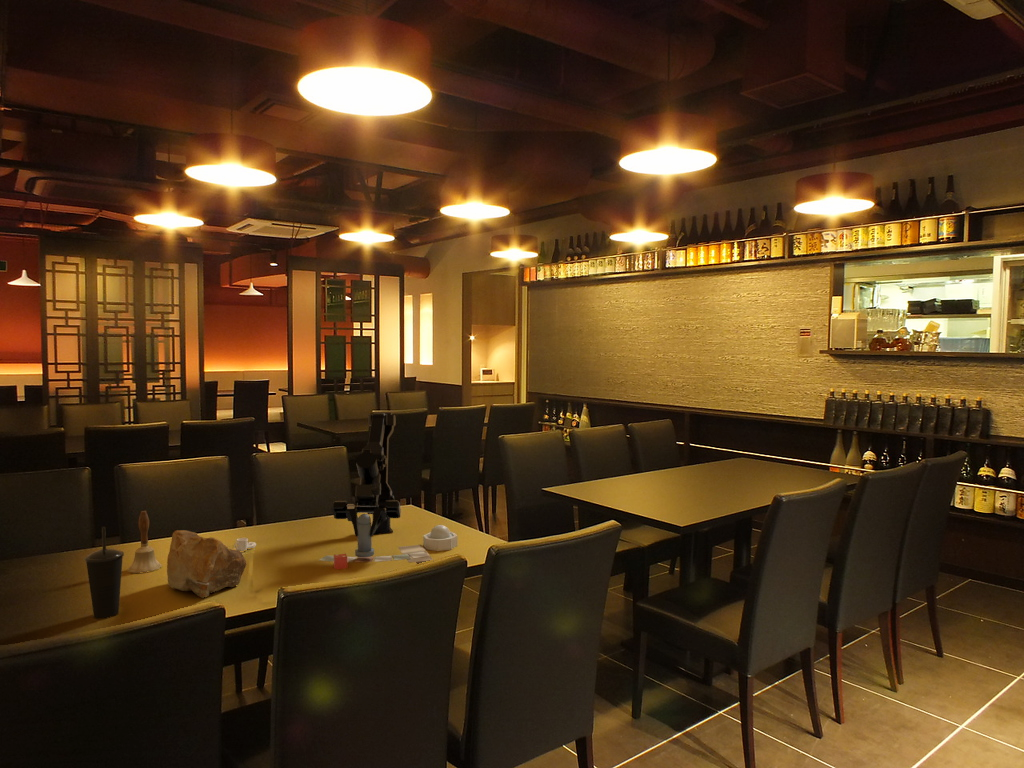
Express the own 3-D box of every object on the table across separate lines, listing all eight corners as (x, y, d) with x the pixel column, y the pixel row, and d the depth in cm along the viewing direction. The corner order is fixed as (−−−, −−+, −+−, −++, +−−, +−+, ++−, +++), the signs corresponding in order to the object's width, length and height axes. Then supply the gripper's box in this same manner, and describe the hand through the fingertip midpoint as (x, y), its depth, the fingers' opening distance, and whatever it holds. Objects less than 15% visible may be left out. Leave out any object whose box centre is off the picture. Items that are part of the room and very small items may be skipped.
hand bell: (168, 565, 193) (167, 508, 192) (144, 575, 185) (142, 515, 184) (145, 562, 195) (143, 506, 195) (120, 571, 188) (118, 513, 187)
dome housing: (421, 543, 214) (421, 533, 214) (451, 540, 217) (451, 530, 217) (428, 551, 205) (428, 541, 205) (459, 548, 208) (459, 538, 208)
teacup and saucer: (252, 546, 212) (252, 533, 212) (263, 552, 207) (263, 538, 207) (223, 552, 206) (223, 539, 206) (234, 558, 201) (234, 544, 200)
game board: (316, 558, 199) (316, 554, 199) (420, 547, 209) (420, 543, 209) (321, 575, 184) (321, 571, 184) (433, 563, 194) (433, 559, 194)
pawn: (352, 553, 194) (351, 513, 194) (369, 550, 197) (368, 510, 197) (359, 558, 190) (359, 517, 190) (377, 555, 193) (376, 514, 193)
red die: (333, 566, 188) (333, 554, 188) (345, 565, 189) (345, 553, 189) (335, 569, 185) (334, 557, 185) (347, 568, 186) (347, 556, 186)
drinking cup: (113, 621, 153) (110, 531, 152) (78, 621, 153) (75, 531, 152) (132, 608, 161) (130, 522, 160) (100, 608, 161) (97, 522, 160)
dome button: (426, 542, 213) (425, 523, 213) (448, 540, 216) (448, 521, 215) (431, 549, 206) (431, 529, 206) (455, 546, 209) (454, 527, 209)
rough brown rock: (261, 595, 171) (264, 535, 172) (190, 606, 160) (194, 542, 161) (225, 576, 188) (228, 521, 189) (160, 585, 177) (163, 526, 178)
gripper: (332, 472, 196) (324, 521, 186) (399, 472, 197) (394, 520, 187) (338, 494, 204) (331, 542, 194) (402, 493, 205) (398, 541, 195)
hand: (363, 536), depth 192 cm, fingers closed on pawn, 4 cm apart
